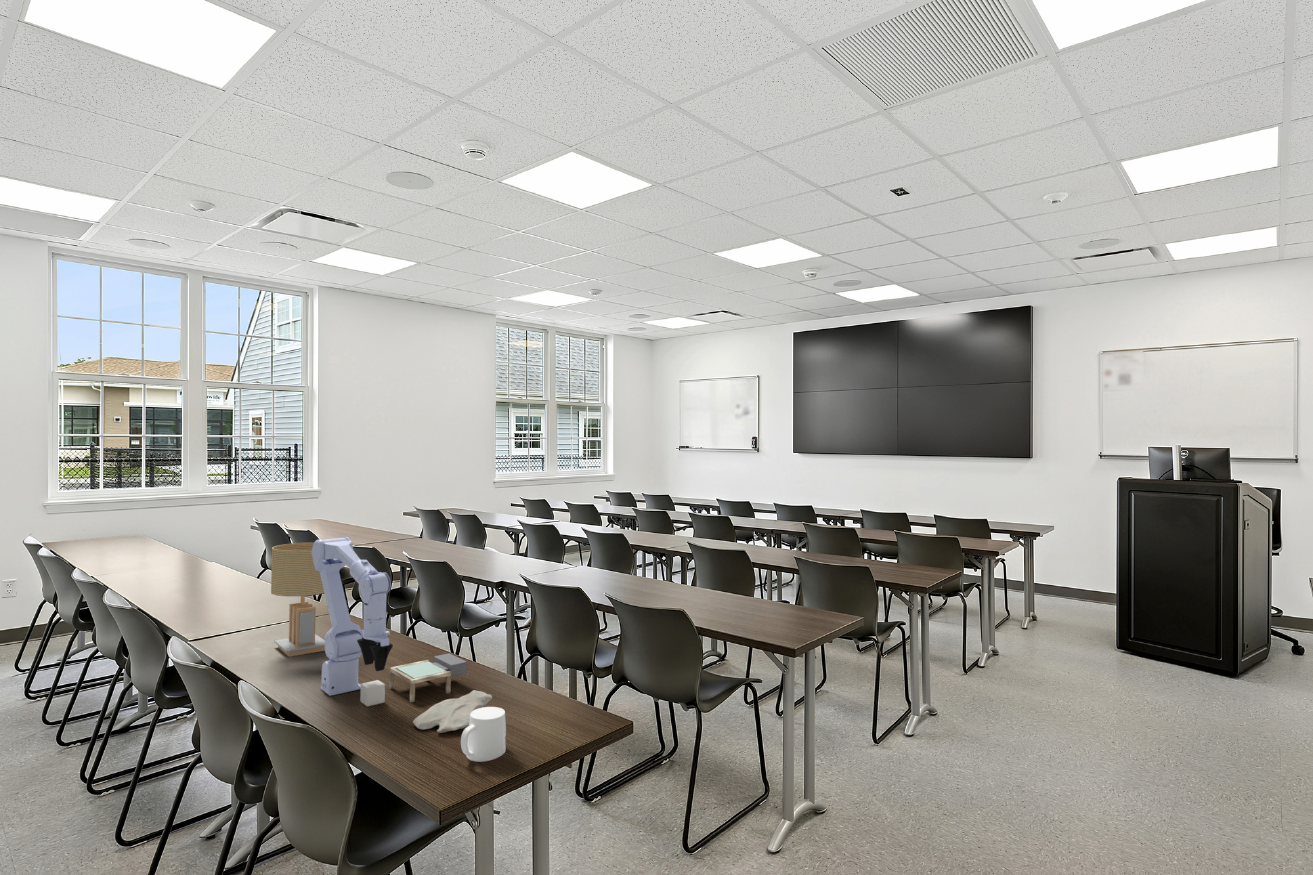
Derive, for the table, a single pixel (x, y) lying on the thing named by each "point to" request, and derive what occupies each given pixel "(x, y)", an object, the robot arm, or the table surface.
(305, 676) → the table surface
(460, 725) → the rock
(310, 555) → the desk lamp
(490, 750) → the mug
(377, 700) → the white cube
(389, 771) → the table surface
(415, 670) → the trapdoor
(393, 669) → the trapdoor frame
